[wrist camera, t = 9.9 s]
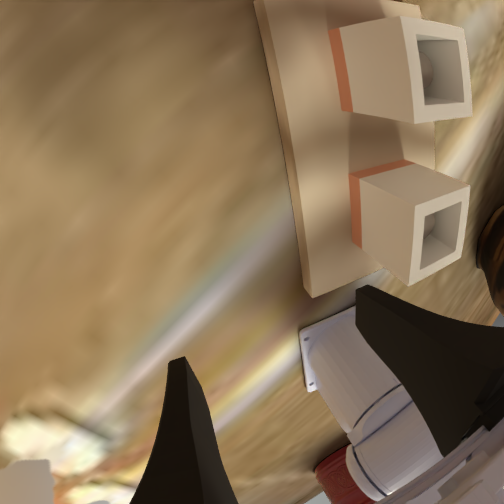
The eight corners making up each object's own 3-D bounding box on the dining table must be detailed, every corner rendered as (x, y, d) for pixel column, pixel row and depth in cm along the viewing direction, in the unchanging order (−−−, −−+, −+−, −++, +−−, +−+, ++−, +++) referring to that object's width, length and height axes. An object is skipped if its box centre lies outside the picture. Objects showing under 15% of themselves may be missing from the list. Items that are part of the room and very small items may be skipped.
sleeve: (401, 102, 18) (472, 116, 13) (341, 110, 17) (414, 124, 12) (391, 32, 15) (463, 28, 10) (327, 30, 14) (399, 15, 9)
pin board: (418, 239, 26) (465, 270, 21) (303, 287, 24) (344, 337, 19) (405, 7, 16) (467, 1, 11) (253, 1, 14) (300, -33, 9)
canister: (377, 426, 44) (430, 501, 30) (372, 449, 51) (414, 512, 36) (309, 462, 43) (355, 545, 28) (315, 479, 49) (352, 547, 34)
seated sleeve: (403, 221, 22) (460, 257, 17) (352, 241, 21) (408, 286, 16) (404, 159, 20) (470, 185, 15) (348, 173, 19) (414, 206, 14)
